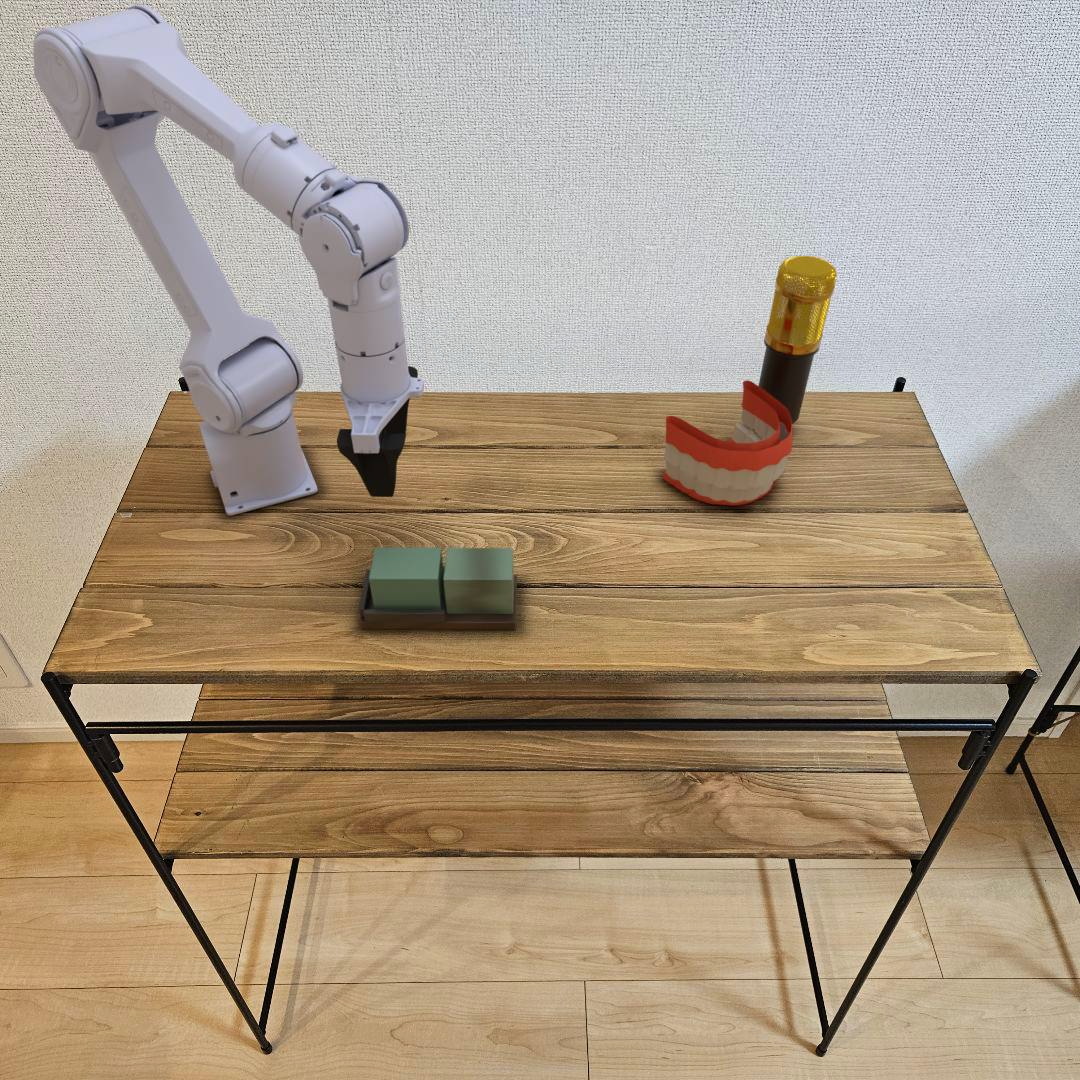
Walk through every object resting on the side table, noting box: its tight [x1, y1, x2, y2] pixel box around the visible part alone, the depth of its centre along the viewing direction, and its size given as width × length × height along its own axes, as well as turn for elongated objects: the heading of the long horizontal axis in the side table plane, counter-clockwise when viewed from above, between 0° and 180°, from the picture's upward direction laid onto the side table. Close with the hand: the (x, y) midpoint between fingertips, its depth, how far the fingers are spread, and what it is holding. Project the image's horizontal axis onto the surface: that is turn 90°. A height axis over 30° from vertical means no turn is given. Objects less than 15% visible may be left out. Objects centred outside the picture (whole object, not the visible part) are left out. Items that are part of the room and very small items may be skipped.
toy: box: [662, 379, 794, 506], centre depth 93 cm, size 12×10×8 cm
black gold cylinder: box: [757, 255, 838, 426], centre depth 96 cm, size 6×13×20 cm, turn 94°
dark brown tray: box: [358, 547, 518, 631], centre depth 81 cm, size 14×6×6 cm, turn 90°
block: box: [369, 546, 444, 610], centre depth 80 cm, size 6×4×4 cm, turn 90°
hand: (388, 467), depth 82 cm, fingers open, 7 cm apart
